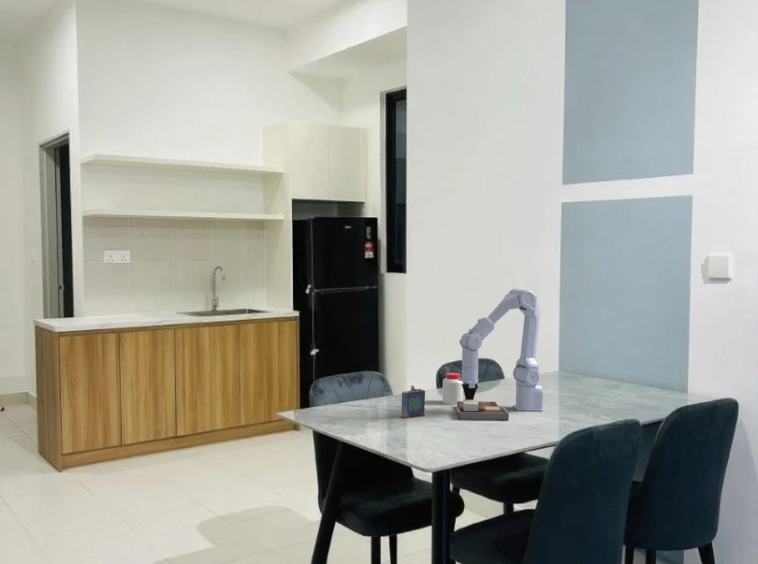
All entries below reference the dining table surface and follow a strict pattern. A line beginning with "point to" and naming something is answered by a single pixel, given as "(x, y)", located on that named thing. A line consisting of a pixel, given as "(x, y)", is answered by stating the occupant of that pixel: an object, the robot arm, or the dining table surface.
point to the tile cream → (470, 405)
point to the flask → (413, 403)
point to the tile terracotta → (491, 409)
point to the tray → (482, 415)
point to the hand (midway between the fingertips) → (469, 404)
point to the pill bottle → (452, 389)
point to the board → (480, 406)
